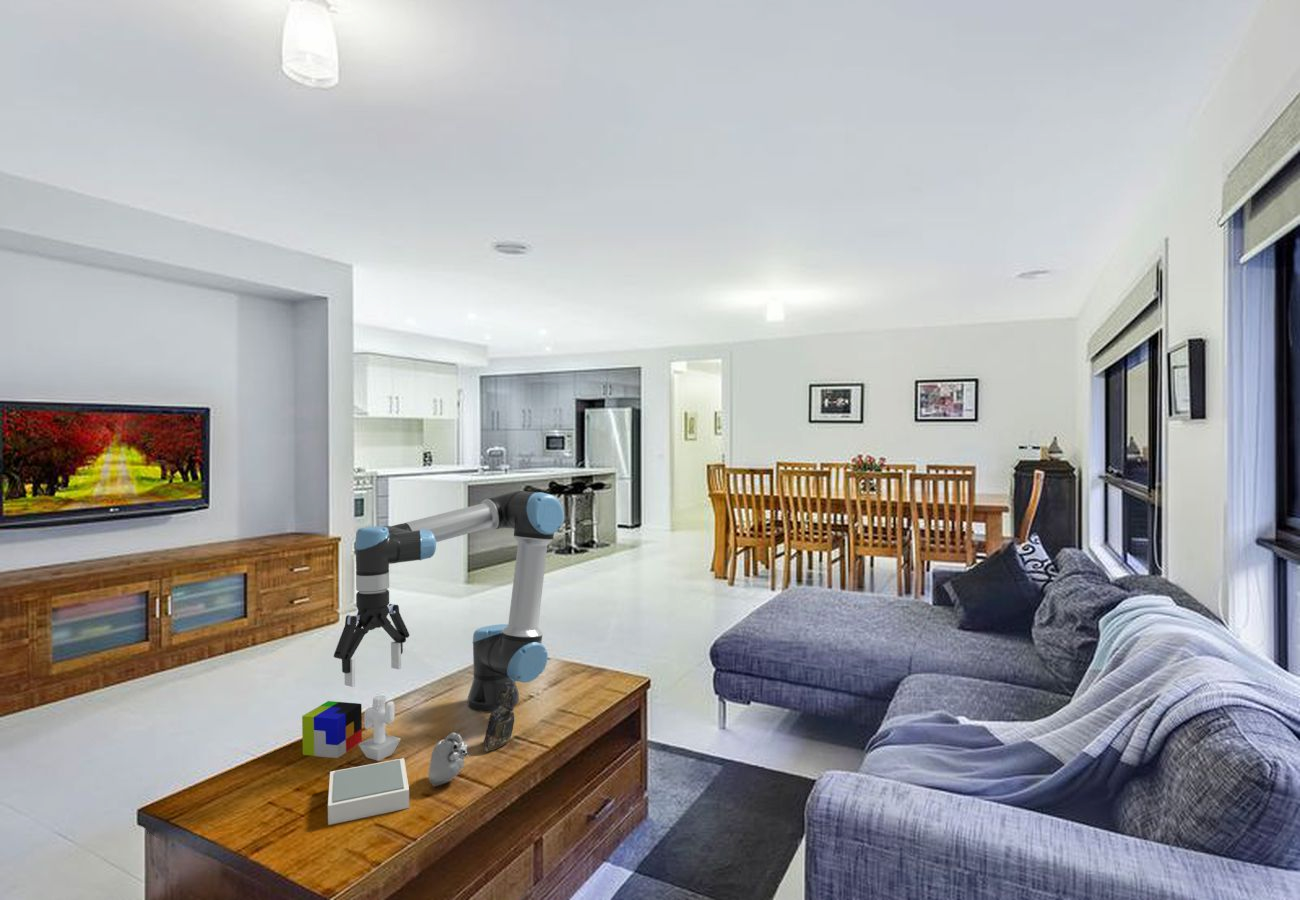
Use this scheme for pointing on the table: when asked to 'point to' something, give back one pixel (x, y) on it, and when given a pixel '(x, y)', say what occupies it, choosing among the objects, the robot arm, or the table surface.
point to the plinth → (367, 791)
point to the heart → (447, 759)
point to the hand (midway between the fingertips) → (373, 676)
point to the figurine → (379, 730)
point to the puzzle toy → (332, 729)
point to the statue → (501, 719)
